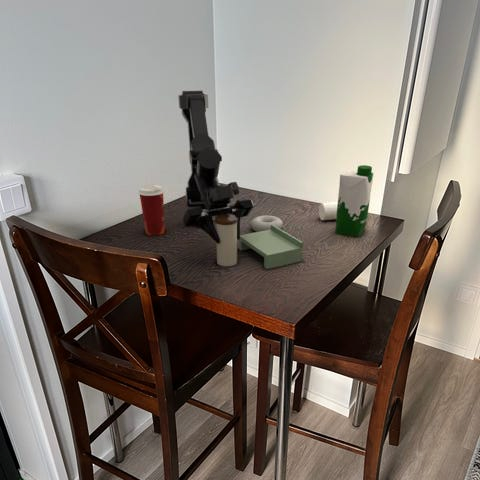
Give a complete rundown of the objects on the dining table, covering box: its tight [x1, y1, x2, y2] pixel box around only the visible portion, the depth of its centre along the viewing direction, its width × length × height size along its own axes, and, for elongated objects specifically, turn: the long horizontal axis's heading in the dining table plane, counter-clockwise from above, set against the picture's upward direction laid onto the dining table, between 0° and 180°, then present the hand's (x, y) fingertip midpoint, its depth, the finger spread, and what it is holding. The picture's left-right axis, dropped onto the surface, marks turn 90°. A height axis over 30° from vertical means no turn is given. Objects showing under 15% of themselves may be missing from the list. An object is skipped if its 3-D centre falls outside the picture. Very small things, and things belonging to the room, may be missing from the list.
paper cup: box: [137, 184, 165, 236], centre depth 148 cm, size 8×8×14 cm
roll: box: [318, 201, 338, 221], centre depth 160 cm, size 6×12×6 cm, turn 100°
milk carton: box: [335, 164, 375, 238], centre depth 146 cm, size 9×9×20 cm
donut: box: [250, 215, 283, 232], centre depth 153 cm, size 10×4×10 cm
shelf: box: [238, 224, 304, 270], centre depth 135 cm, size 16×11×6 cm
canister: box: [214, 214, 238, 267], centre depth 129 cm, size 6×6×12 cm
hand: (228, 241), depth 127 cm, fingers closed on canister, 5 cm apart
